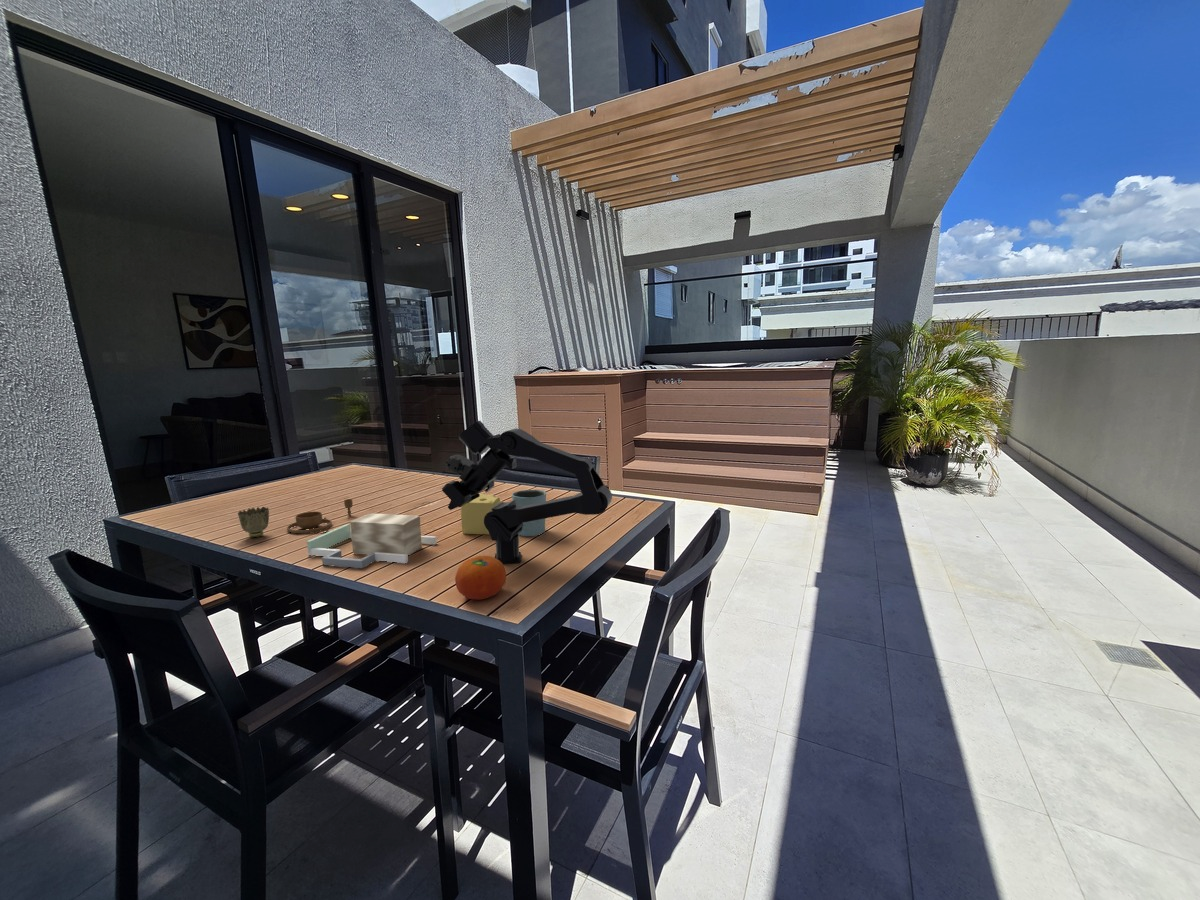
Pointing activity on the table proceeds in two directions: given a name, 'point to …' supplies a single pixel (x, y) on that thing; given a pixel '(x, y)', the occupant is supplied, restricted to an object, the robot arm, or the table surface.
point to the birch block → (386, 534)
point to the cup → (254, 521)
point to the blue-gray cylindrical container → (526, 499)
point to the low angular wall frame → (334, 558)
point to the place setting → (314, 520)
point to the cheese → (477, 514)
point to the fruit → (480, 577)
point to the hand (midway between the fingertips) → (449, 508)
